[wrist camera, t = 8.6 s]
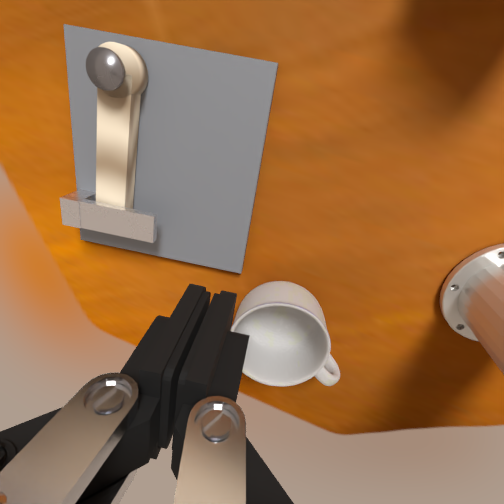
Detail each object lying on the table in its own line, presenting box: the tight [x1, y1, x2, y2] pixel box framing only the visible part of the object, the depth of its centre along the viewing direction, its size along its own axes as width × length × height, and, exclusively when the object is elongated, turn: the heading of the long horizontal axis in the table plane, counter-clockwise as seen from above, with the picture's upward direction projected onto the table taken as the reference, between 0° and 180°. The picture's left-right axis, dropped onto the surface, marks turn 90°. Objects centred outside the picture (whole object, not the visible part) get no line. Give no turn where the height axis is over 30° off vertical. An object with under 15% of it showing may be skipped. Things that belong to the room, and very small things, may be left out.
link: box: [86, 42, 148, 209], centre depth 32 cm, size 18×4×4 cm, turn 167°
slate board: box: [64, 24, 278, 274], centre depth 34 cm, size 20×22×1 cm
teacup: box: [231, 281, 340, 386], centre depth 38 cm, size 14×11×8 cm
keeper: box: [60, 189, 157, 243], centre depth 36 cm, size 10×3×5 cm, turn 80°
